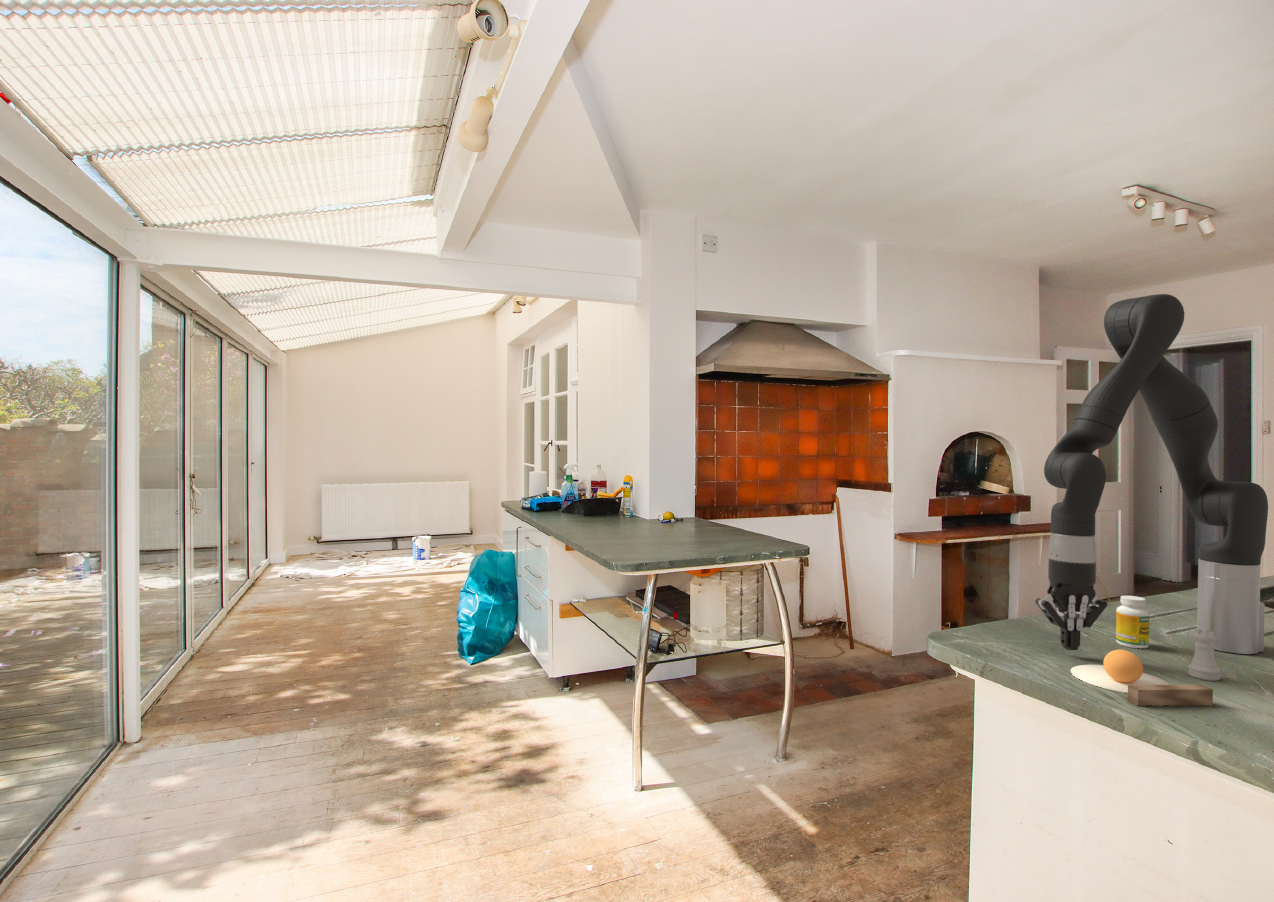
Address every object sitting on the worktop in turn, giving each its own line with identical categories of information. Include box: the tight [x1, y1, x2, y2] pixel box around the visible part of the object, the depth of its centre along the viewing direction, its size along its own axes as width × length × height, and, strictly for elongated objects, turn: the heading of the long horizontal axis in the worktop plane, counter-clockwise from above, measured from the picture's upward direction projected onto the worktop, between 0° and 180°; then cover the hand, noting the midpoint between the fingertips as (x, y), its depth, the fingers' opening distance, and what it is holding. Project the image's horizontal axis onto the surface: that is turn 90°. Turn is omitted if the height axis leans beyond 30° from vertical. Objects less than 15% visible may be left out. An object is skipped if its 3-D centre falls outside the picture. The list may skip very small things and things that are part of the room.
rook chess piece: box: [1187, 629, 1222, 682], centre depth 114 cm, size 4×4×8 cm
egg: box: [1102, 649, 1144, 683], centre depth 111 cm, size 5×5×5 cm
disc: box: [1070, 664, 1171, 694], centre depth 112 cm, size 14×14×1 cm
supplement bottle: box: [1115, 595, 1150, 650], centre depth 132 cm, size 5×5×10 cm
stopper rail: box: [1127, 684, 1214, 707], centre depth 102 cm, size 12×2×2 cm, turn 93°
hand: (1070, 648), depth 124 cm, fingers closed
